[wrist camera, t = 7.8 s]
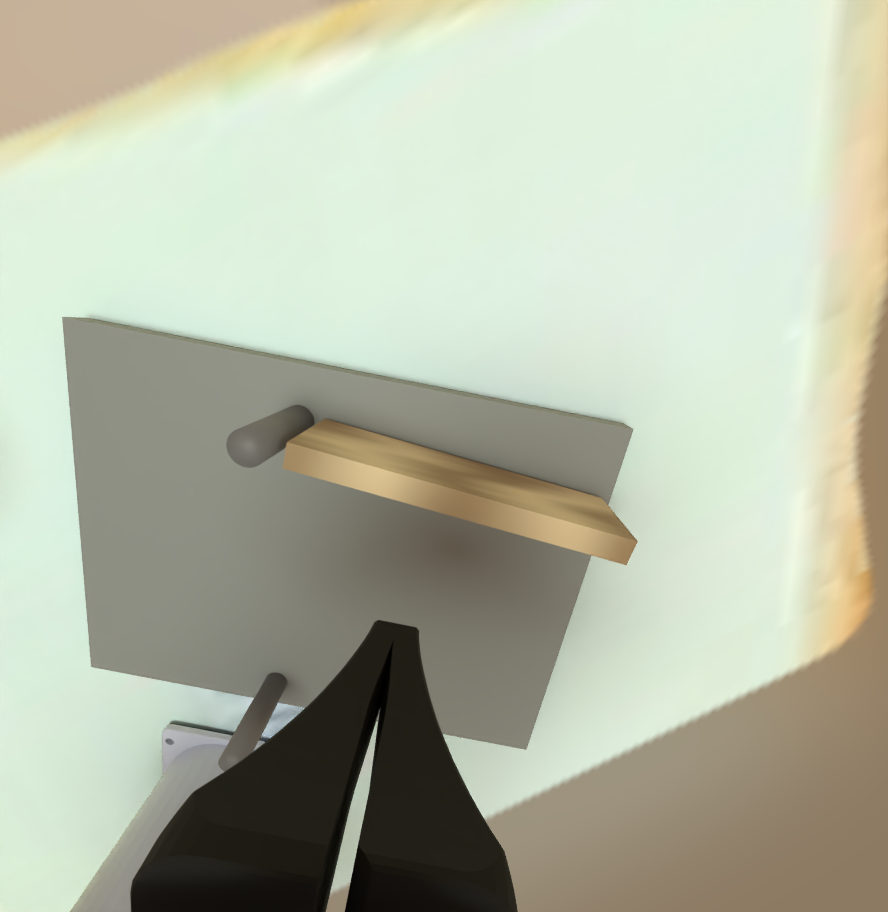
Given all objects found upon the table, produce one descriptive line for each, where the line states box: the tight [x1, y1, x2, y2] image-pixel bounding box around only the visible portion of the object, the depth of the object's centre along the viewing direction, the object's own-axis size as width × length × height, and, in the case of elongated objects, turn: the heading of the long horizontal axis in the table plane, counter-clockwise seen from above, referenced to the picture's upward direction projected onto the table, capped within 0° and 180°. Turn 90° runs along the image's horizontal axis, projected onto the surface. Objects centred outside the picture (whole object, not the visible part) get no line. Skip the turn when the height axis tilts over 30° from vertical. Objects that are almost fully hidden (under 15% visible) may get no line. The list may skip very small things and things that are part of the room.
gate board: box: [62, 317, 633, 772], centre depth 19 cm, size 19×25×6 cm
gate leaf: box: [282, 419, 638, 565], centre depth 16 cm, size 13×1×4 cm, turn 74°
